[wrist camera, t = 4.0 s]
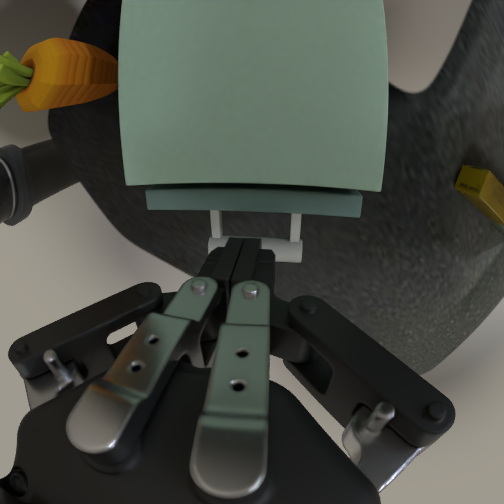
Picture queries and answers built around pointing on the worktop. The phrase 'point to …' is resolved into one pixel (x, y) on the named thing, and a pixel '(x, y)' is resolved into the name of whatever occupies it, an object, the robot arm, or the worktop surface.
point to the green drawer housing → (253, 92)
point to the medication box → (483, 193)
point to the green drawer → (257, 207)
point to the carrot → (57, 75)
